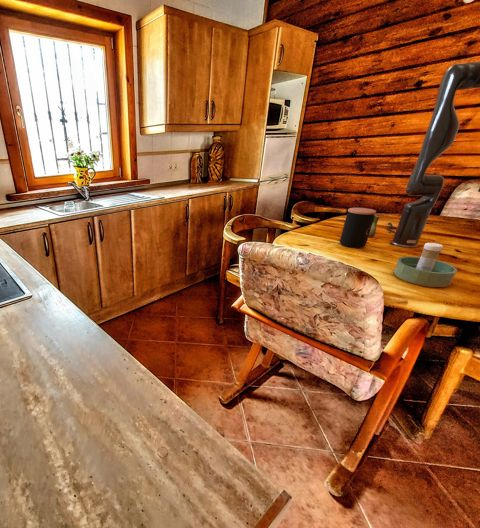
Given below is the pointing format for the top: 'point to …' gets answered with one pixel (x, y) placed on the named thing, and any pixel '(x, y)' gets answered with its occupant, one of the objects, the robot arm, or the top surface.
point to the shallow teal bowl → (425, 273)
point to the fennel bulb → (373, 226)
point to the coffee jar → (357, 227)
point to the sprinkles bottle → (429, 256)
